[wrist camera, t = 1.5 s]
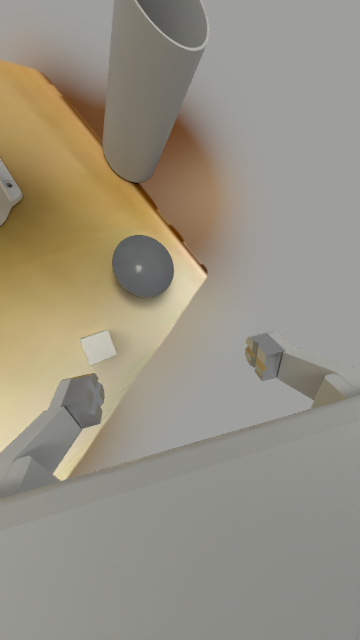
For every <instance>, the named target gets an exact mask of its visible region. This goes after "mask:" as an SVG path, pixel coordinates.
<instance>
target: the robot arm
mask: <svg viewBox="0 0 360 640" xmlns="http://www.w3.org/2000/svg"><path fill="white" fill-rule="evenodd" d="M8 186H12V187H8ZM22 197H23V194H22V192H21V190H20V189H19V187H18V185H17V184H16V182H15V181H14V179H13V178H12V176H11V174H10V173H9V171H8V170H7V168H6V166H5V165H4V163H3V162H2V160H1V159H0V225H2V224H3V223H4V221H5V220H6V219H7V217H8V215H9V212H10V210H11V208H12V206H14V205H15V204H16V203H18V202H19V201H20V200H21V199H22ZM246 344H247V345H248V347H247V348H246V349H245V355H246V359H247V361H248V363H249V364H250V365H251V366H252V367H255V372H256V374H257V375H258V377H259V378H260V379H261V380H262V381H264V380H269V379H273V378H278V379H279V380H281V381H283V382H284V383H286V384H287V385H289V386H291V387H292V388H294V389H296V390H297V391H299V392H301V393H302V394H304V395H306V396H307V397H309V398H311V399H313V400H314V402H313V404H312V407H311V409H309V410H306V411H302V412H299V413H295V414H292V415H288V416H285V417H281V418H278V419H274V420H271V421H268V422H264V423H261V424H257V425H254V426H250V427H247V428H243V429H240V430H237V431H233V432H230V433H226V434H222V435H219V436H216V437H212V438H209V439H205V440H202V441H199V442H195V443H192V444H188V445H184V446H181V447H178V448H174V449H171V450H168V451H164V452H161V453H157V454H154V455H150V456H146V457H143V458H140V459H136V460H133V461H130V462H126V463H123V464H119V465H115V466H112V467H109V468H105V469H102V470H98V471H95V472H91V473H88V474H84V475H81V476H77V477H74V478H70V479H67V480H63V481H60V479H58V478H57V477H56V476H54V475H53V472H54V471H55V469H56V468H57V467H58V465H59V464H60V462H61V461H62V459H63V458H64V456H65V455H66V453H67V452H68V450H69V449H70V447H71V446H72V444H73V443H74V441H75V440H76V438H77V437H78V435H79V434H80V432H81V431H82V429H83V428H86V427H90V426H93V425H97V424H100V421H101V415H102V409H101V407H100V406H101V405H102V404H103V403H104V389H103V386H102V385H101V384H100V383H98V382H97V381H98V377H97V375H96V374H95V373H92V374H87V375H82V376H78V377H73V378H69V379H64V380H62V381H61V382H60V383H59V386H58V388H57V390H56V392H55V395H54V397H53V399H52V402H51V404H50V406H49V408H48V410H47V411H44V412H43V413H42V414H41V415H40V416H39V417H38V418H37V419H35V420H34V421H33V422H32V423H31V424H30V425H29V426H28V427H27V428H26V429H25V430H24V431H23V432H22V433H21V434H20V435H19V436H18V437H17V438H16V439H15V440H14V441H13V442H11V443H10V444H9V445H8V446H7V447H6V448H5V449H4V450H3V451H2V452H1V453H0V640H360V372H359V371H358V370H356V369H355V368H354V367H351V366H348V365H345V364H342V363H339V362H337V361H334V360H331V359H328V358H325V357H322V356H319V355H316V354H313V353H310V352H307V351H305V350H302V349H299V348H297V349H295V348H294V347H293V346H292V345H290V344H289V343H288V342H287V341H286V340H285V339H284V338H282V337H281V336H280V335H279V334H278V333H277V332H275V331H271V332H267V333H264V334H259V335H255V336H251V337H248V338H247V339H246Z"/></svg>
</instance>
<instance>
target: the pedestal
mask: <svg viewBox="0 0 360 640" xmlns="http://www.w3.org/2000/svg"><path fill="white" fill-rule="evenodd" d="M112 267H113V272H114V275H115V277H116V279H117V281H118V282H119V284H120V285H121V286H122V287H123V288H124V289H125V290H127V291H128V292H129V293H131V294H133V295H136V296H139V297H154V296H157V295H159V294H161V293H162V292H164V291H165V290H166V289H167V288H168V287H169V285H170V284H171V282H172V279H173V274H174V266H173V262H172V259H171V256H170V254H169V252H168V251H167V250H166V248H165V247H164V246H163V245H162V244H161V243H159V242H158V241H157V240H155V239H153V238H151V237H148V236H144V235H134V236H130V237H127V238H126V239H124V240H123V241H121V242H120V243H119V244H118V246H117V247H116V249H115V251H114V255H113V259H112Z"/></svg>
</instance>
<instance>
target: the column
mask: <svg viewBox="0 0 360 640" xmlns="http://www.w3.org/2000/svg"><path fill="white" fill-rule="evenodd" d="M80 342H81V344H82V347H83V349H84V352H85V354H86V357H87V360H88V362H89V365H93V364H95V363H98V362H100V361H102V360H105V359H107V358H110V357H112V356H115V355H117V353H116V350H115V348H114V345H113V342H112V340H111V337H110V334H109V332H108V330H105V331H100V332H97V333H95V334H92V335H89V336H86V337H83V338H81V339H80Z"/></svg>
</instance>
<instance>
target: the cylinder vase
mask: <svg viewBox="0 0 360 640" xmlns="http://www.w3.org/2000/svg"><path fill="white" fill-rule="evenodd" d="M208 39H209V23H208V18H207V14H206V11H205V8H204V6H203V3H202V1H201V0H114V8H113V21H112V32H111V45H110V58H109V71H108V84H107V95H106V110H105V120H104V133H103V152H104V156H105V158H106V160H107V162H108V164H109V165H110V167H111V168H112V169H113V170H114V171H115V172H116V173H117V174H118V175H119V176H121V177H122V178H124V179H126V180H128V181H131V182H136V183H141V182H145V181H147V180H148V179H150V178H151V176H152V175H153V173H154V171H155V168H156V166H157V163H158V161H159V158H160V156H161V154H162V151H163V149H164V146H165V144H166V141H167V139H168V137H169V134H170V132H171V129H172V127H173V124H174V122H175V120H176V117H177V115H178V112H179V110H180V108H181V105H182V103H183V100H184V98H185V95H186V93H187V91H188V88H189V85H190V83H191V81H192V78H193V76H194V73H195V71H196V68H197V66H198V64H199V61H200V59H201V56H202V54H203V52H204V49H205V47H206V44H207V42H208Z"/></svg>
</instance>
